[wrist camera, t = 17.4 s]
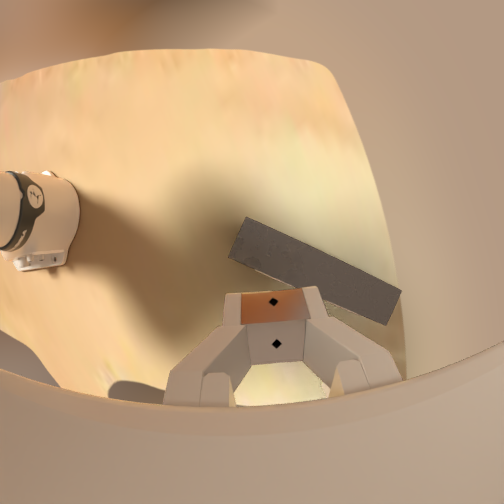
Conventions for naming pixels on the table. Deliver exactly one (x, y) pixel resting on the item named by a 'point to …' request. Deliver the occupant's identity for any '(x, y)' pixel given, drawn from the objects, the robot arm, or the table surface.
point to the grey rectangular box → (313, 271)
